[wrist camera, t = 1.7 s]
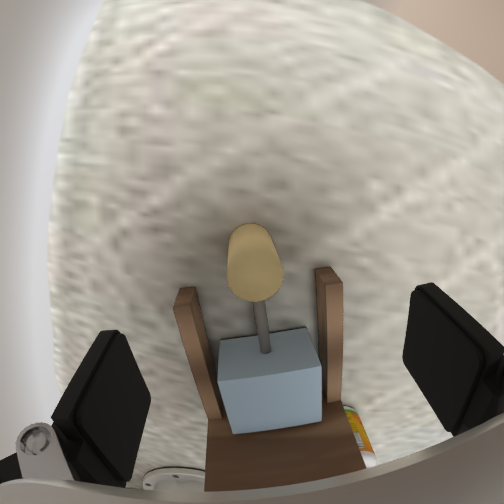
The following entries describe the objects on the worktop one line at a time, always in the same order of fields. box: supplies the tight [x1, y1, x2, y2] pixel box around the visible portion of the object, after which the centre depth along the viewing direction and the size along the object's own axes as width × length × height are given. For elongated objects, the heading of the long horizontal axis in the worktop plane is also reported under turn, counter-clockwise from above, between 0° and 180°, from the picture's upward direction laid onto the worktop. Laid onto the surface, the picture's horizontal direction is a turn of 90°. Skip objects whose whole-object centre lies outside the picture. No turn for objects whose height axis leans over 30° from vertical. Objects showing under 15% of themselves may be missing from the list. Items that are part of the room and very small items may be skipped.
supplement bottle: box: [343, 406, 377, 468], centre depth 24 cm, size 5×5×10 cm
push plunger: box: [217, 224, 322, 434], centre depth 21 cm, size 15×7×6 cm, turn 8°
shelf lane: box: [173, 267, 367, 492], centre depth 19 cm, size 12×11×12 cm
